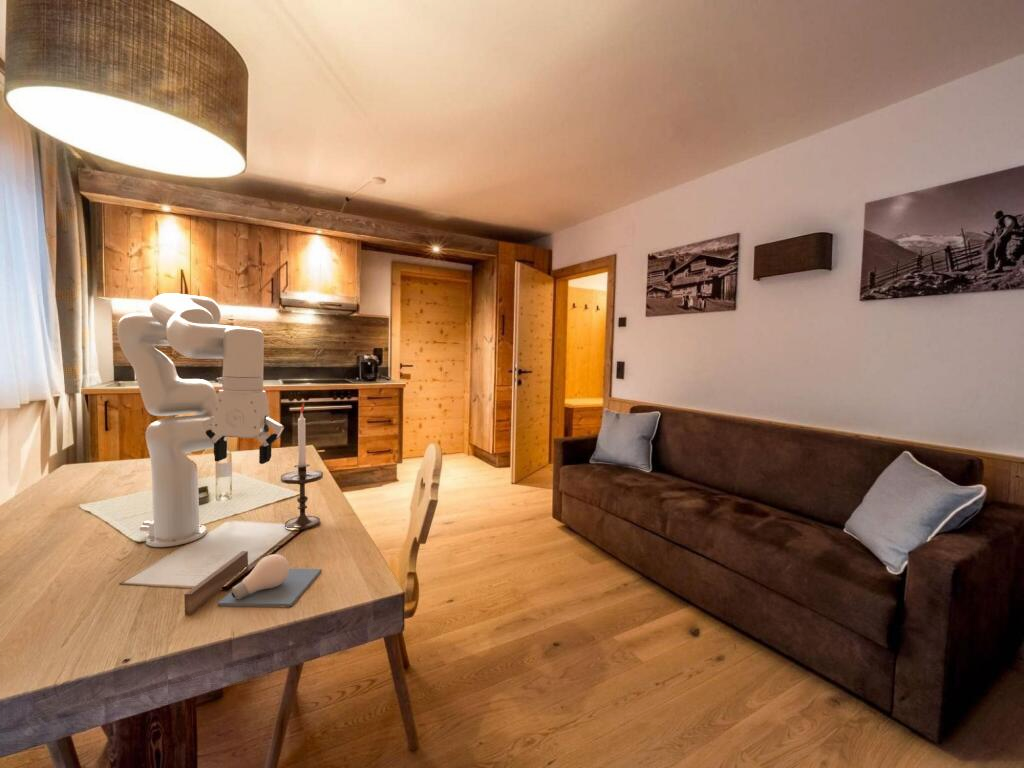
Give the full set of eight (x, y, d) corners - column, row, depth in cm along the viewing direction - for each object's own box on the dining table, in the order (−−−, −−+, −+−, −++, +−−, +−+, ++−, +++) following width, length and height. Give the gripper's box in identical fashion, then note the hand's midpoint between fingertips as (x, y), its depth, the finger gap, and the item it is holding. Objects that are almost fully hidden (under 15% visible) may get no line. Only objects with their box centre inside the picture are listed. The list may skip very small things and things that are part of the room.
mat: (217, 606, 85) (217, 603, 85) (258, 570, 99) (258, 568, 99) (290, 606, 85) (290, 603, 85) (321, 571, 99) (321, 568, 99)
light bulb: (230, 583, 83) (287, 549, 91) (220, 578, 87) (275, 545, 95) (244, 614, 84) (299, 577, 92) (233, 607, 88) (287, 572, 96)
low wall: (184, 614, 82) (184, 594, 82) (242, 568, 100) (242, 551, 100) (191, 615, 82) (190, 594, 82) (248, 568, 100) (247, 551, 100)
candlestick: (312, 515, 133) (311, 399, 131) (330, 524, 127) (329, 402, 124) (274, 525, 125) (272, 402, 123) (291, 535, 118) (290, 405, 116)
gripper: (191, 383, 93) (191, 463, 94) (274, 388, 93) (272, 468, 94) (215, 380, 100) (214, 454, 101) (291, 385, 100) (290, 459, 102)
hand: (242, 461), depth 98 cm, fingers open, 9 cm apart
